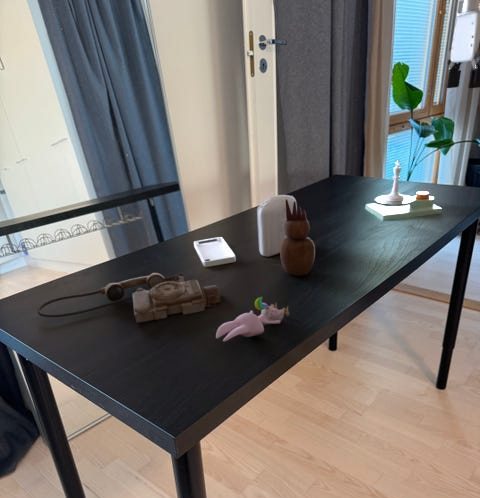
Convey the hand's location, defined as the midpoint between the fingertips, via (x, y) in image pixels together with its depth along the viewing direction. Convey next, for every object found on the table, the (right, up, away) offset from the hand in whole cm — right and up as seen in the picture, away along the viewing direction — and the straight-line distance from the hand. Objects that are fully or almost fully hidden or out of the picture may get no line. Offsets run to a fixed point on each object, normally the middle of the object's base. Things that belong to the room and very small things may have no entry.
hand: (463, 87), depth 109 cm
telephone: (-78, -58, -30) cm, 102 cm away
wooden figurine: (-47, -52, -24) cm, 74 cm away
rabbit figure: (-56, -63, -43) cm, 95 cm away
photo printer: (-50, -45, -12) cm, 68 cm away
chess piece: (-17, -29, +3) cm, 33 cm away
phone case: (-65, -45, -10) cm, 80 cm away
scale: (-14, -31, +5) cm, 35 cm away
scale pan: (-17, -29, +4) cm, 34 cm away
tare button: (-9, -28, +4) cm, 30 cm away
